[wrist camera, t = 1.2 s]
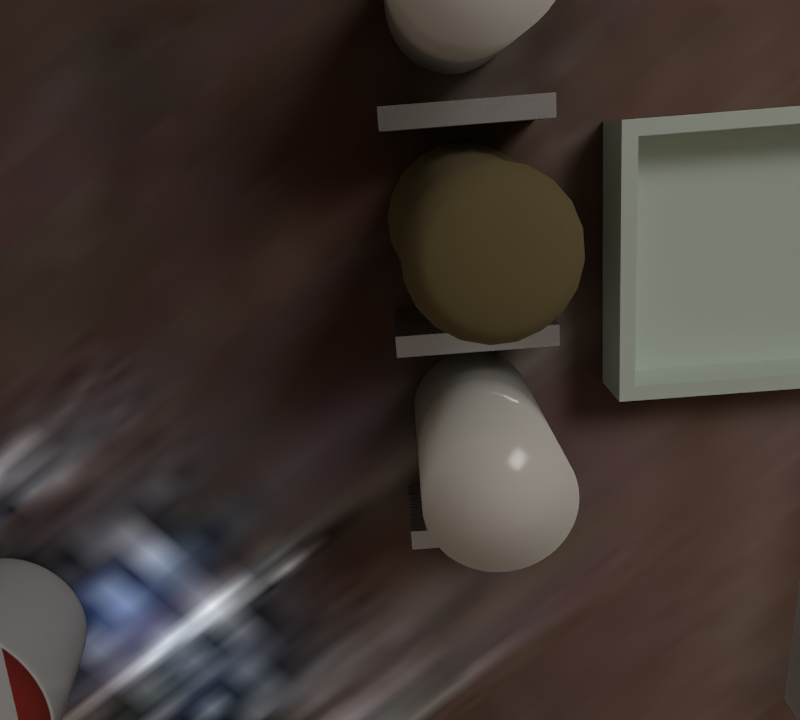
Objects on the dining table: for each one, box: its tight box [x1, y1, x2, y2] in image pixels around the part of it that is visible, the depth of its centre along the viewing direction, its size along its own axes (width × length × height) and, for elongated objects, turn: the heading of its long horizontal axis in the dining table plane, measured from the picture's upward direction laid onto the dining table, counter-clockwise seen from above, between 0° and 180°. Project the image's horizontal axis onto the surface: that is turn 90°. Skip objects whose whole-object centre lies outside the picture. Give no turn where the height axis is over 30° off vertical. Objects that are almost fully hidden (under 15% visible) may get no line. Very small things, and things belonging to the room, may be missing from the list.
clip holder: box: [377, 92, 560, 550], centre depth 28 cm, size 25×6×4 cm, turn 4°
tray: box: [603, 106, 800, 402], centre depth 29 cm, size 11×11×2 cm
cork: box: [387, 142, 585, 345], centre depth 25 cm, size 6×6×11 cm
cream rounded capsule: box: [414, 351, 579, 572], centre depth 28 cm, size 5×5×9 cm
